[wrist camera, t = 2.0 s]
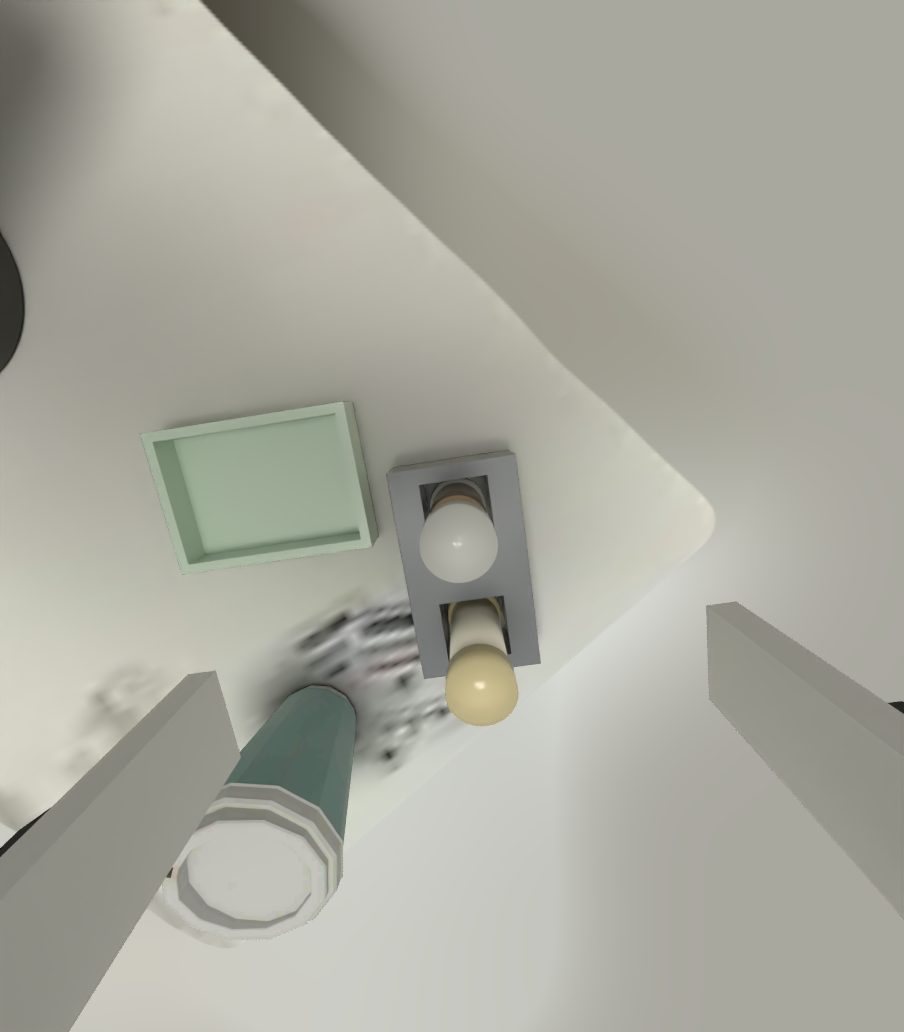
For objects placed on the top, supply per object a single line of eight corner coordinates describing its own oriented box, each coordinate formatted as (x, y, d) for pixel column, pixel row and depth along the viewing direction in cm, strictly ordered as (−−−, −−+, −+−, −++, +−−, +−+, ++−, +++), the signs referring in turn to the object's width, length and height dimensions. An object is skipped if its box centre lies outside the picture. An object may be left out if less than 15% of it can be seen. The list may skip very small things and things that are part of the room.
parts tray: (166, 431, 35) (139, 433, 32) (352, 402, 34) (343, 401, 31) (203, 562, 37) (181, 574, 34) (378, 536, 37) (372, 547, 34)
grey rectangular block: (393, 467, 35) (386, 474, 31) (508, 449, 35) (515, 454, 31) (427, 652, 39) (424, 678, 35) (532, 638, 38) (540, 663, 35)
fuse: (444, 587, 37) (440, 666, 26) (495, 580, 37) (513, 656, 26) (452, 633, 38) (451, 730, 27) (501, 626, 38) (522, 721, 27)
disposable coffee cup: (394, 684, 40) (358, 844, 25) (360, 783, 42) (309, 982, 27) (276, 648, 39) (167, 791, 24) (248, 750, 41) (133, 937, 27)
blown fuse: (427, 480, 36) (413, 513, 24) (480, 472, 35) (492, 501, 24) (435, 531, 36) (426, 588, 25) (487, 524, 36) (502, 577, 25)
